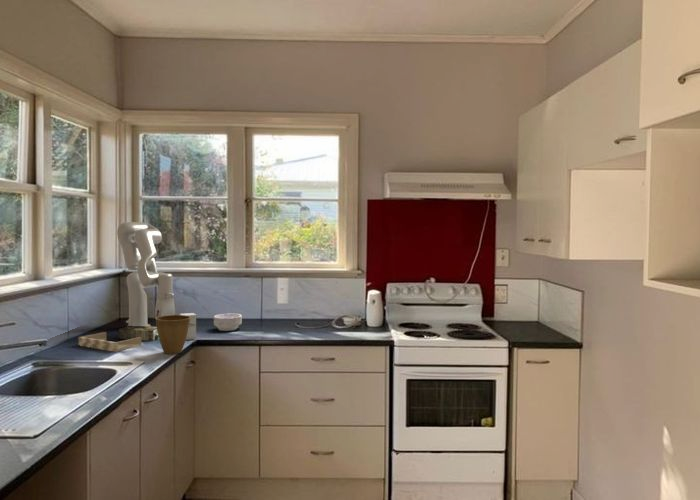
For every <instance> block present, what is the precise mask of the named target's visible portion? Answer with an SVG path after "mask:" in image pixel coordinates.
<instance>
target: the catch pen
mask: <svg viewBox="0 0 700 500" xmlns="http://www.w3.org/2000/svg"><path fill="white" fill-rule="evenodd" d="M107 335H108V334H107V331H104V332H99V333H94V334H87V335H82V336H78V337H77V338H78V339H77V340H78V346H79V345H80V347H84V346H85V347H84V348H90V347H91V348H92V349H97V350H102V351H108V352H115V353H116V352H121V351H125V350H129V349H133V348H137V347H141V346H142V340H141V337H138V338H133V339H129V340H125V339H123V340H120V341H117V342H116V341H110V340H109V341H108V340H107Z"/></svg>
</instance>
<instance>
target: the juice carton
mask: <svg viewBox="0 0 700 500" xmlns="http://www.w3.org/2000/svg"><path fill="white" fill-rule="evenodd" d="M117 331H118V339H119V340H129V339H133V338H138V337H141V341H150V340H151V341H152V342H154V341H157V340H159V336H158V331H157V326H151V325H150V326H128V325H126V326H124V327H120V328H118V329H117Z"/></svg>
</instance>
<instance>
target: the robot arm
mask: <svg viewBox="0 0 700 500" xmlns="http://www.w3.org/2000/svg"><path fill="white" fill-rule="evenodd" d="M116 233H117V234H116V235H117V240H118V242H119V244H120V245H121V249H122V253H123V256H124V257H123V258H124V262H125V265H126V268H127V269H128V270H130V271H133V272H131V273H129V274H128V275H127V277H126V286H127V291H128V317H129V318H128V319H127V320H126V321H125V323H126V324H128V325H127V326H151V324H150V323H148V295H147V292H146V291H145V289H148V288H156V287H157V299H156V302H155V308H154V309H155V310H154V314H155V315H154V317H155V318H156V317H160V316H168V315H176V305H175V300H174V298H173V297H174V296H175V295H174V289H173V288H174V287H173V285H174V284H173V283H174V282H173V280H174V279H173V274H172V273H166V272H164V271H163V272H161V271H159V272H158V268H157V263H156V260H155V257H157V255H158V251H157V249H156V245H159V244H160V243H161V242H162V240H163V237H162V233H161V231H160V230H159V229H158V228H157V227H155V226H154V225H152V224H151V223H149V222H145V221H144V222H143V221H142V222H141V221H126V222H122V223H120V224H119V225H118V226H117V231H116ZM134 238H135V239H134Z"/></svg>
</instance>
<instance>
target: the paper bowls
mask: <svg viewBox="0 0 700 500" xmlns="http://www.w3.org/2000/svg"><path fill="white" fill-rule="evenodd" d="M242 321H243V315H242V314H241V313H231V312H229V313H220V314H215V315H214V316H213V326H215V327H217V329H218V331H222V332H231V331H232V332H233V331H236V330H238V328H239V326H240V325H242V323H243V322H242Z"/></svg>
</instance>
